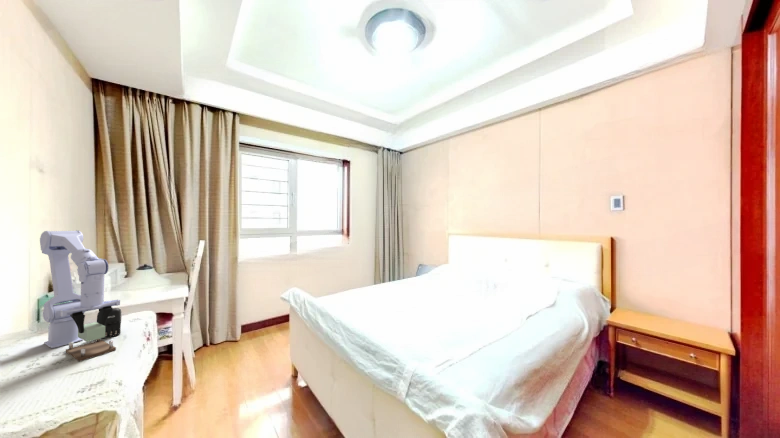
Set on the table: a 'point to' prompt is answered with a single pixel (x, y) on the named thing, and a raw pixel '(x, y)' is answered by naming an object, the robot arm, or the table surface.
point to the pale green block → (92, 332)
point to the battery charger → (112, 323)
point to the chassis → (90, 349)
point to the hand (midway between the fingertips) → (91, 330)
